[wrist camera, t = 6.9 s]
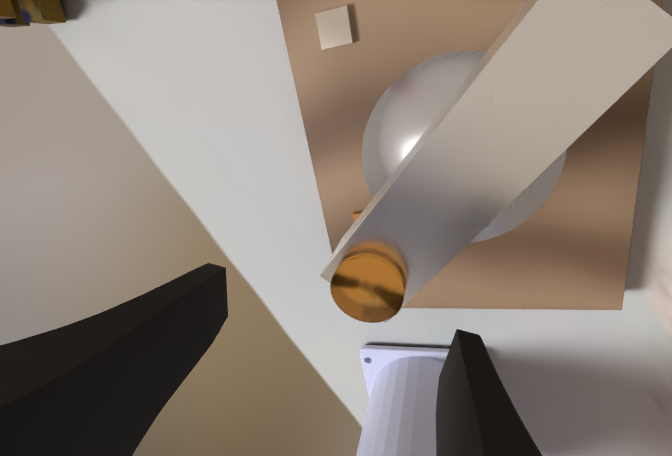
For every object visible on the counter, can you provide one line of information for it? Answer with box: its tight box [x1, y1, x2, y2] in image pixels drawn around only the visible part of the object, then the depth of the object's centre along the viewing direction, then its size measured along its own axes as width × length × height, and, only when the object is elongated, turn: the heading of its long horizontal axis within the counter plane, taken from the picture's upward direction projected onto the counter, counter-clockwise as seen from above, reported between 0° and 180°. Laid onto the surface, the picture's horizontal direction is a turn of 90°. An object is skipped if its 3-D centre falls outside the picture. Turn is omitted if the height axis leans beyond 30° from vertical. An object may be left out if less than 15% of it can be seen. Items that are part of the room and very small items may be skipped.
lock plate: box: [277, 0, 662, 310], centre depth 15 cm, size 20×14×6 cm
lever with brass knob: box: [320, 0, 672, 323], centre depth 10 cm, size 9×6×5 cm, turn 148°
